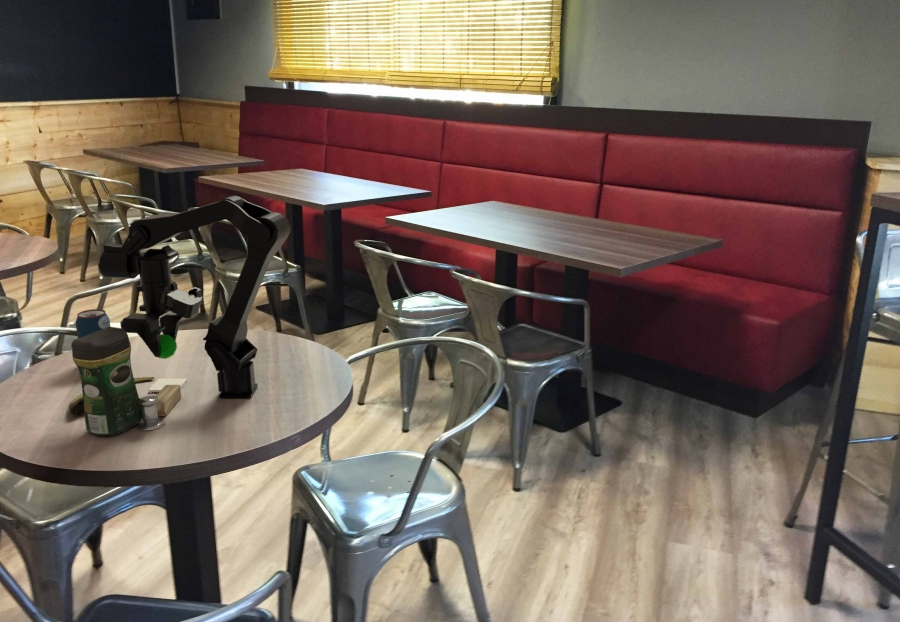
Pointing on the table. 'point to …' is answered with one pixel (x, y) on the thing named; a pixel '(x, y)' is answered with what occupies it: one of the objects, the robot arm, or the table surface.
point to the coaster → (162, 382)
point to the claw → (78, 404)
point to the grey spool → (149, 414)
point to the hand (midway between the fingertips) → (164, 352)
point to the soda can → (91, 322)
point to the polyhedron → (167, 346)
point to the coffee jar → (107, 381)
